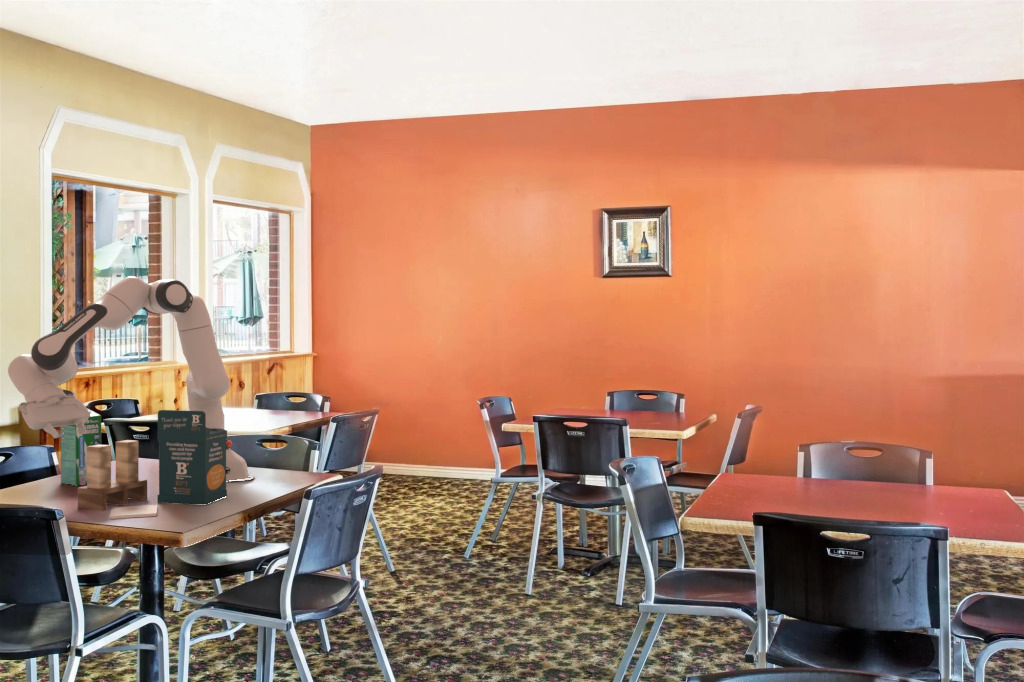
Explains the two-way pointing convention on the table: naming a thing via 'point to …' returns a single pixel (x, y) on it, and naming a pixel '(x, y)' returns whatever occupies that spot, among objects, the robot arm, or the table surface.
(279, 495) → the table surface
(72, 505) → the table surface
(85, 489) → the walnut shelf
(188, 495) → the donation box
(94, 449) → the block
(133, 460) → the block
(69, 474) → the milk carton
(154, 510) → the ceramic tile
